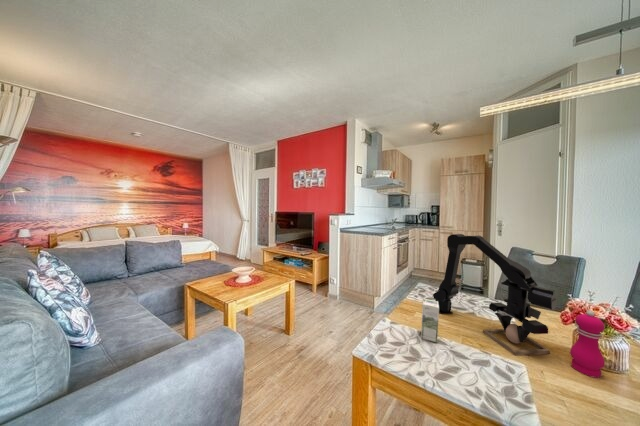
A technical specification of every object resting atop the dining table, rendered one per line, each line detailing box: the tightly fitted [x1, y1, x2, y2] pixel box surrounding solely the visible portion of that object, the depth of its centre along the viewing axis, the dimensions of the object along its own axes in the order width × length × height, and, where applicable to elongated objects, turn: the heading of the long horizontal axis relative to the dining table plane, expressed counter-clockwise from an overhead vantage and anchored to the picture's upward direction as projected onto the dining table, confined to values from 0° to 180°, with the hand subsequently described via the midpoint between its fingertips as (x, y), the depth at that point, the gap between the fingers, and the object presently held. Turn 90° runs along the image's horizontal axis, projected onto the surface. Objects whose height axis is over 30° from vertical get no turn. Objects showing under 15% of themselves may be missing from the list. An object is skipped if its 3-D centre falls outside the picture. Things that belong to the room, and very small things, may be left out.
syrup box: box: [420, 298, 440, 344], centre depth 88 cm, size 6×6×14 cm
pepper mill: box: [569, 310, 606, 378], centre depth 72 cm, size 7×7×20 cm
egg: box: [505, 323, 521, 344], centre depth 86 cm, size 5×5×7 cm
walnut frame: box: [482, 328, 551, 357], centre depth 87 cm, size 14×14×1 cm
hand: (514, 337), depth 87 cm, fingers closed on egg, 5 cm apart
